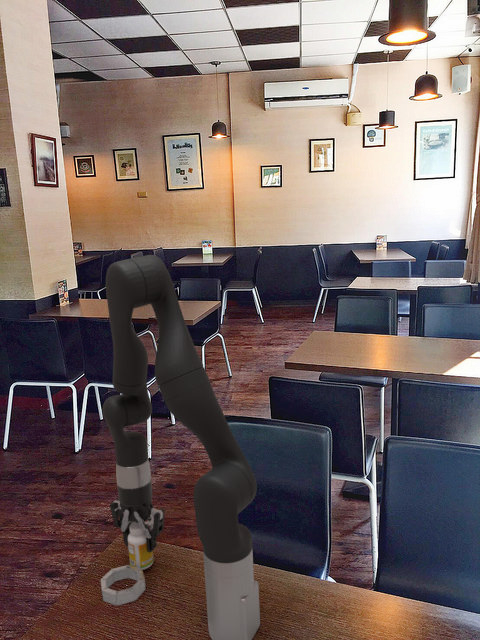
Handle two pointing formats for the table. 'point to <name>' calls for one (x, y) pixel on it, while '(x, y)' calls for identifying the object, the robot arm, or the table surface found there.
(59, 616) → the table surface
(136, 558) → the supplement bottle
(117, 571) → the ring holder
